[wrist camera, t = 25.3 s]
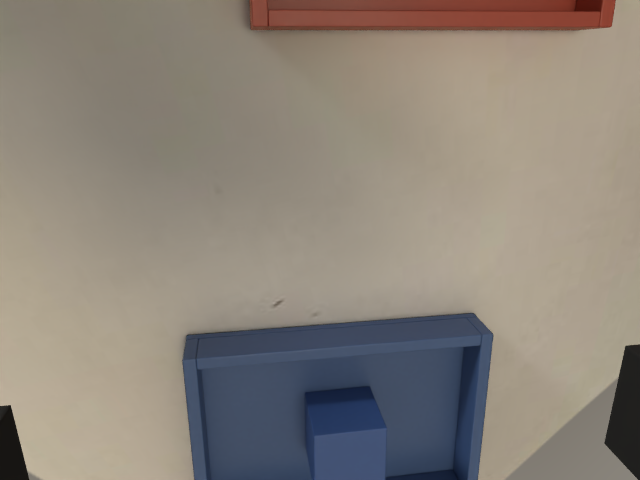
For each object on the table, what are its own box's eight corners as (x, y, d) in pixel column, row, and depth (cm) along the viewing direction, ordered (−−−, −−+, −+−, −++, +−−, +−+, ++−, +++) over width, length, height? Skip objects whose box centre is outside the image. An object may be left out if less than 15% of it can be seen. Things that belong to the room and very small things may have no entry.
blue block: (305, 447, 38) (314, 496, 34) (304, 391, 37) (313, 436, 32) (368, 440, 39) (385, 488, 34) (370, 385, 37) (387, 428, 33)
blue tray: (202, 501, 39) (200, 536, 36) (186, 334, 35) (182, 359, 32) (458, 470, 42) (475, 501, 39) (473, 312, 37) (493, 333, 34)
